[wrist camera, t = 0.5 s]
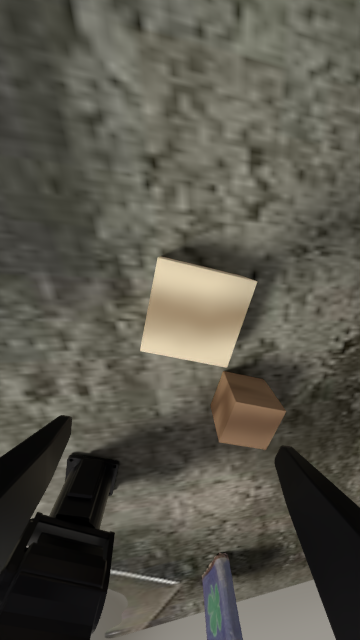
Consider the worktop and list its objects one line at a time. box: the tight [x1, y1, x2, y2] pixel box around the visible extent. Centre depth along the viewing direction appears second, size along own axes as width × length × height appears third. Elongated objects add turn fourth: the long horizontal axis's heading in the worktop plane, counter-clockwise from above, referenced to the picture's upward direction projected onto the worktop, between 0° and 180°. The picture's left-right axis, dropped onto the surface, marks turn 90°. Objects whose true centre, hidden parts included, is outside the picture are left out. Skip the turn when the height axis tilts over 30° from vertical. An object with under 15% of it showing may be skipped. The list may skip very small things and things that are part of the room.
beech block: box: [140, 256, 257, 367], centre depth 19 cm, size 8×8×4 cm
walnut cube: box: [211, 371, 286, 450], centre depth 22 cm, size 5×5×5 cm
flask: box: [202, 553, 243, 640], centre depth 31 cm, size 9×3×11 cm, turn 162°
